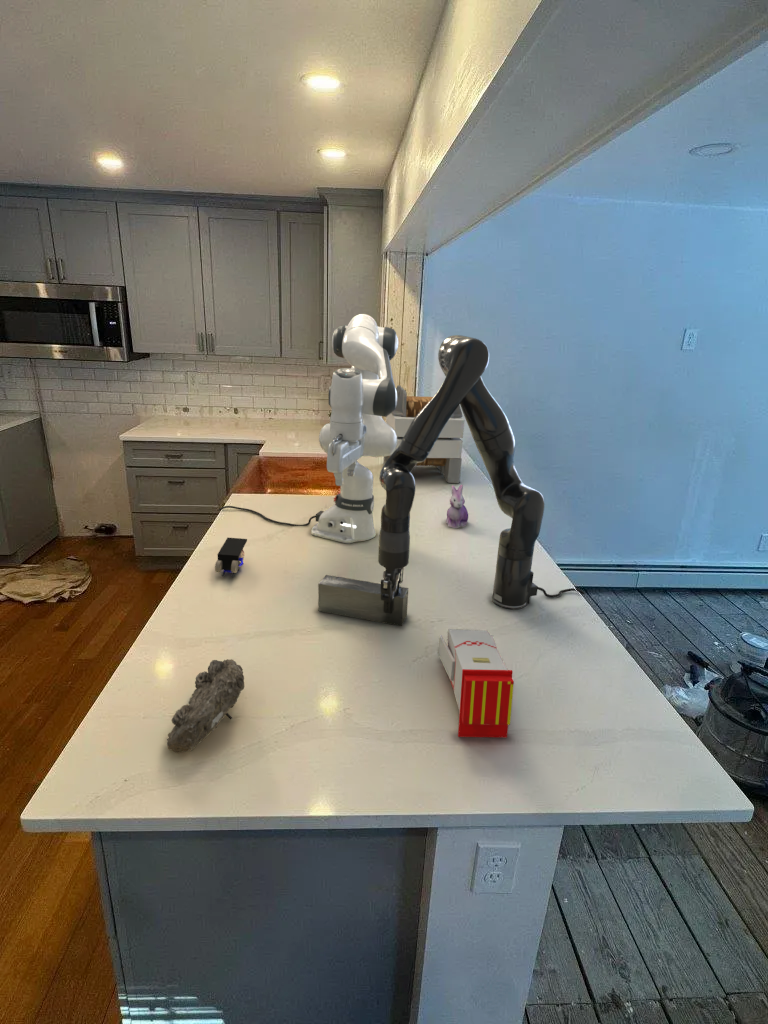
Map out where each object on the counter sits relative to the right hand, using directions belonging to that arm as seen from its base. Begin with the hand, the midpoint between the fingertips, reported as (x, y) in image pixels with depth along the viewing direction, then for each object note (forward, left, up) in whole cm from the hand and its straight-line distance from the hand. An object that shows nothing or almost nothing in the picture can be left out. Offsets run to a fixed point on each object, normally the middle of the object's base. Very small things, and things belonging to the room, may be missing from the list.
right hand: (391, 606), depth 144 cm
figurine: (-48, -57, -4) cm, 75 cm away
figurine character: (+35, -39, -4) cm, 53 cm away
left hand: (+5, -27, +26) cm, 37 cm away
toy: (-6, +32, -4) cm, 33 cm away
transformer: (-62, -124, -4) cm, 139 cm away
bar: (+6, -4, -3) cm, 8 cm away
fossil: (+46, +25, -4) cm, 52 cm away
